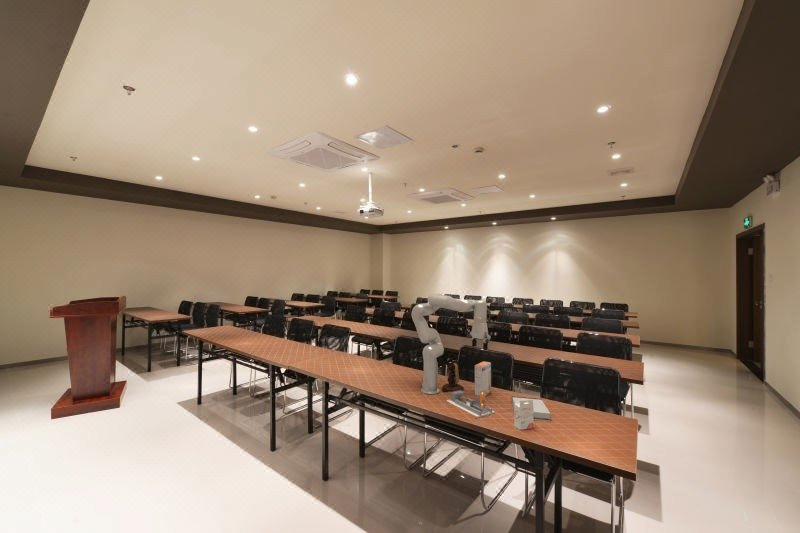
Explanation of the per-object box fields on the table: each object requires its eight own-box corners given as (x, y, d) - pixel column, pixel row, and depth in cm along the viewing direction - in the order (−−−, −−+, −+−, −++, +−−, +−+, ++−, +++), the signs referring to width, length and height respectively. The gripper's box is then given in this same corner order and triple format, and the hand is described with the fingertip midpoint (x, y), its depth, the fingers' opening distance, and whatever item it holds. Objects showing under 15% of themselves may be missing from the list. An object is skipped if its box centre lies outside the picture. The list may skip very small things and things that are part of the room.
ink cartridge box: (527, 424, 181) (527, 396, 181) (533, 428, 176) (534, 399, 177) (513, 426, 178) (514, 397, 179) (519, 430, 174) (519, 401, 174)
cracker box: (482, 391, 232) (483, 360, 233) (491, 393, 229) (491, 362, 229) (473, 396, 221) (474, 364, 222) (482, 399, 218) (482, 366, 218)
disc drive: (541, 407, 208) (541, 398, 208) (550, 422, 186) (550, 412, 186) (511, 404, 211) (511, 396, 211) (517, 418, 189) (517, 409, 189)
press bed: (445, 403, 209) (446, 392, 209) (463, 399, 216) (463, 389, 216) (476, 419, 186) (476, 407, 186) (494, 414, 193) (495, 403, 193)
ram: (469, 408, 196) (470, 389, 197) (477, 406, 199) (478, 388, 200) (480, 413, 189) (480, 394, 189) (488, 411, 192) (489, 392, 192)
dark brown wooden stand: (459, 396, 222) (459, 365, 223) (438, 391, 230) (439, 362, 231) (467, 390, 235) (467, 361, 236) (447, 386, 243) (447, 357, 243)
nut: (458, 402, 207) (458, 395, 207) (463, 401, 209) (463, 394, 209) (462, 404, 203) (463, 397, 203) (468, 403, 205) (468, 396, 205)
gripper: (466, 318, 217) (465, 345, 216) (485, 322, 202) (485, 351, 201) (474, 318, 221) (474, 344, 220) (494, 321, 206) (494, 350, 205)
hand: (479, 347), depth 211 cm, fingers open, 9 cm apart
